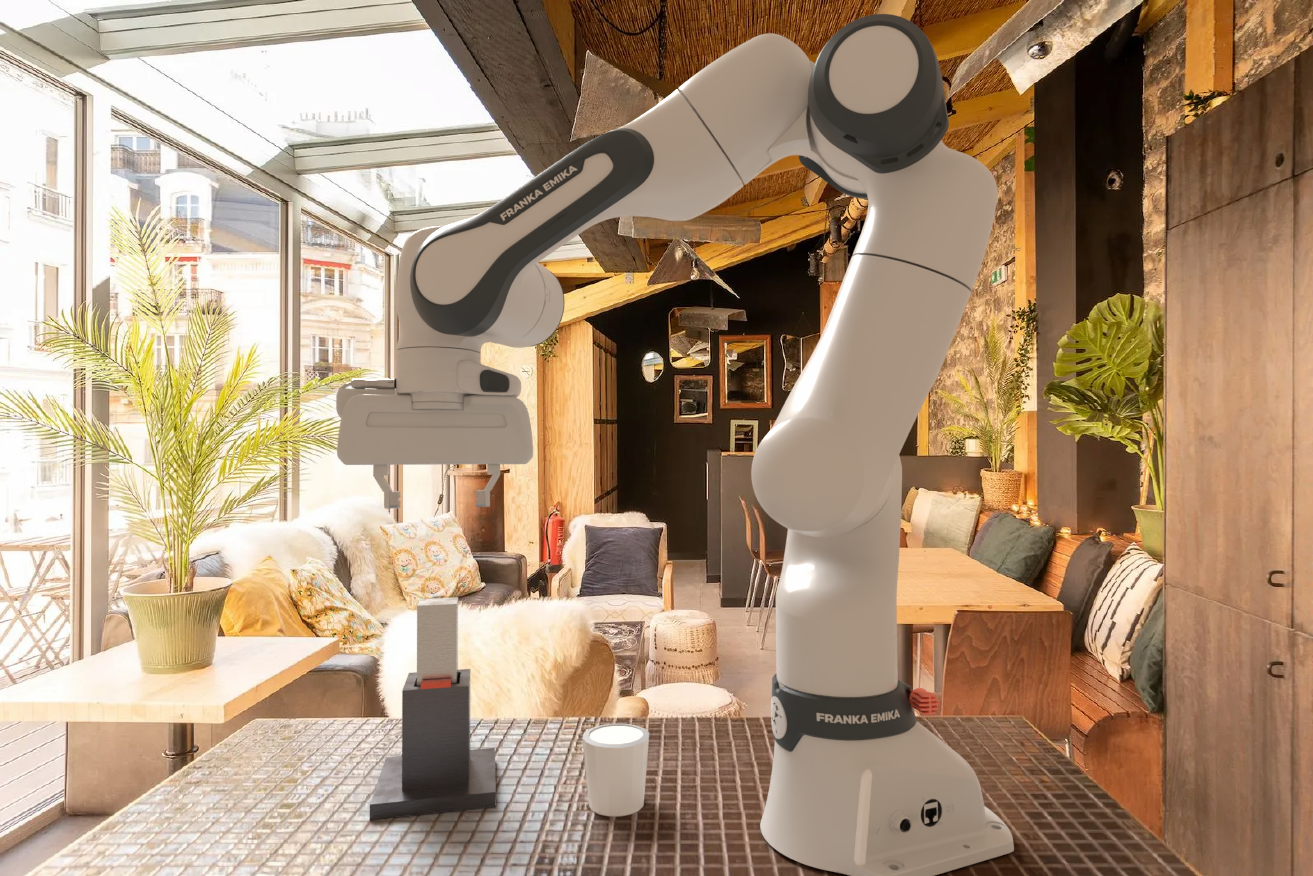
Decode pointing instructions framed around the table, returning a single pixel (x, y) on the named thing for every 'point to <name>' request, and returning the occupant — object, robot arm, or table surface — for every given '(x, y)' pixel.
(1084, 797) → the table surface
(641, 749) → the white tapered cup
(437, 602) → the steel post
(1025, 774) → the table surface
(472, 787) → the sleeve stand
